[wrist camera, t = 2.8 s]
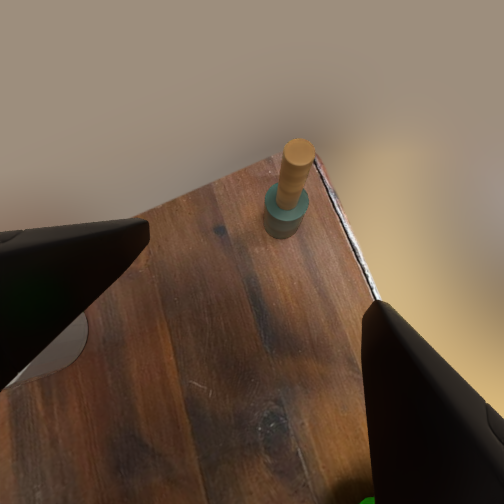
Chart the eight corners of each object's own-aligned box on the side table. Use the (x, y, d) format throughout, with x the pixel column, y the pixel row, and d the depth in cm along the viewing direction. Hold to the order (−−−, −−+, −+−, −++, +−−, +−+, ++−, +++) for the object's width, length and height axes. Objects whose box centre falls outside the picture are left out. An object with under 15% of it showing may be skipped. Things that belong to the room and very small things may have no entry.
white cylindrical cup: (98, 349, 21) (49, 363, 16) (30, 387, 20) (-43, 413, 15) (75, 287, 22) (24, 282, 17) (11, 321, 22) (-60, 325, 17)
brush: (305, 228, 23) (345, 161, 12) (274, 245, 23) (288, 191, 12) (286, 200, 24) (309, 114, 13) (257, 216, 23) (255, 141, 13)
